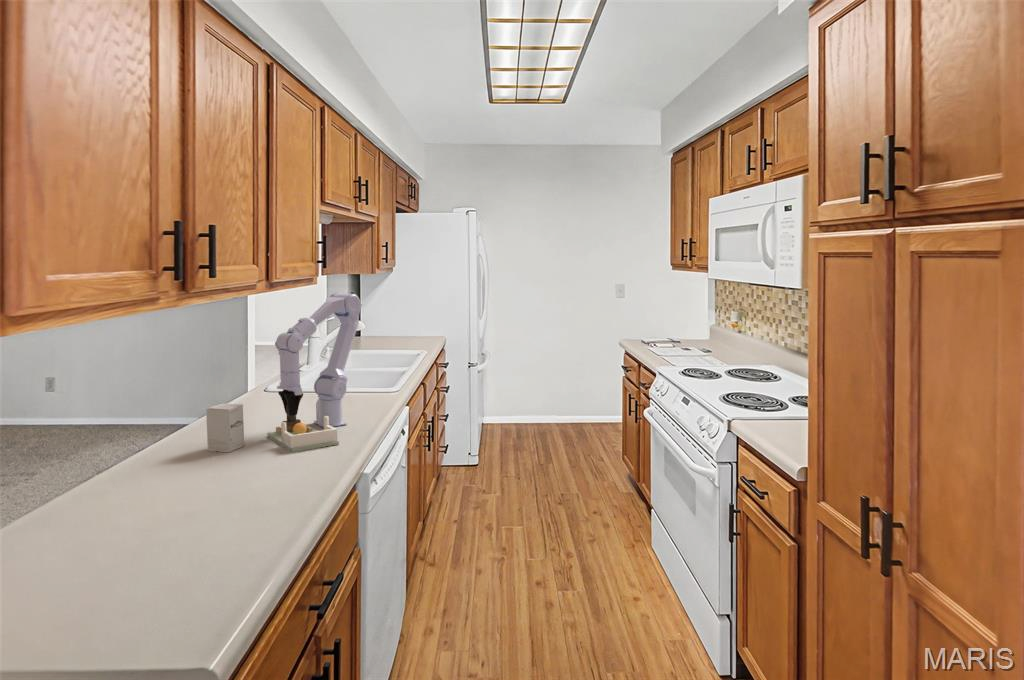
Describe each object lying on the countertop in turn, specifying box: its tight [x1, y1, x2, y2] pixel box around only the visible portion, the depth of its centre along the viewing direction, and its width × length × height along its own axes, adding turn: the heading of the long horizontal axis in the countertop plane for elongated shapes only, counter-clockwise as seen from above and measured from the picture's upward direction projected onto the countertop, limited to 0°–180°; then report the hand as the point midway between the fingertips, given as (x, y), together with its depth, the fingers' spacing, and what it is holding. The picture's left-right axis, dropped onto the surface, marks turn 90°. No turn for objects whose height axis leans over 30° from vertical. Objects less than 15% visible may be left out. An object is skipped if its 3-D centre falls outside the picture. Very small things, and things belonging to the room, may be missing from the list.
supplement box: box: [205, 403, 245, 453], centre depth 198 cm, size 7×7×13 cm
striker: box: [282, 405, 302, 432], centre depth 214 cm, size 3×5×8 cm, turn 127°
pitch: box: [267, 416, 340, 453], centre depth 207 cm, size 22×14×7 cm, turn 37°
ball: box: [293, 422, 307, 435], centre depth 209 cm, size 4×4×4 cm
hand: (291, 414), depth 214 cm, fingers closed on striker, 3 cm apart
